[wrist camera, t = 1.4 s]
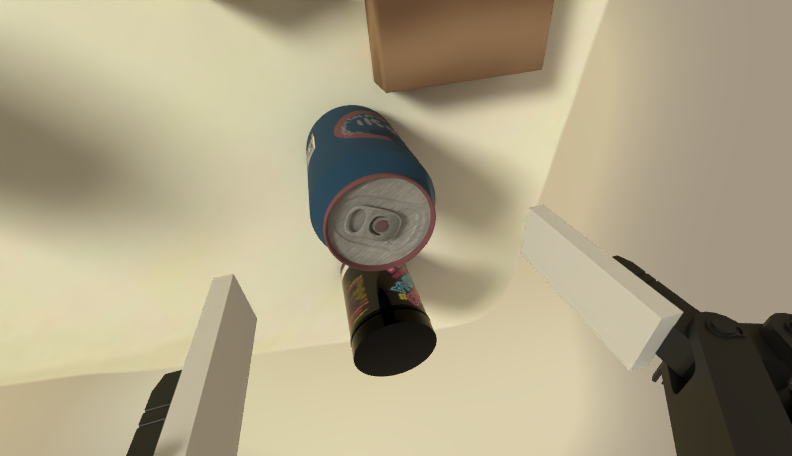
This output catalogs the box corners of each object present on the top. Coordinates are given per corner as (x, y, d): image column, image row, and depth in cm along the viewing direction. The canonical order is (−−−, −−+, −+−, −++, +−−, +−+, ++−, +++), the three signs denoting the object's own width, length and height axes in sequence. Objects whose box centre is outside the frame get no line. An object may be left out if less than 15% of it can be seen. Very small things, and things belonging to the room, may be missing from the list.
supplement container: (395, 288, 36) (424, 372, 27) (335, 289, 33) (347, 380, 25) (409, 240, 32) (447, 319, 24) (344, 237, 30) (361, 323, 22)
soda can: (405, 118, 25) (470, 184, 16) (375, 193, 28) (415, 286, 19) (319, 86, 22) (333, 143, 13) (297, 173, 25) (295, 271, 16)
